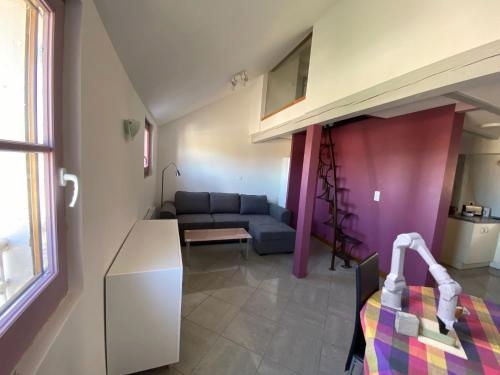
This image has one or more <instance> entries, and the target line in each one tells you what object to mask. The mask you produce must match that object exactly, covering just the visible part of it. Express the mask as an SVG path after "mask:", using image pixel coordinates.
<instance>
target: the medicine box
mask: <svg viewBox="0 0 500 375" xmlns="http://www.w3.org/2000/svg"><path fill="white" fill-rule="evenodd" d="M418 327H419V320H418V319H417V317H416V315H415V314H412V313H409V312H404V311H399V310H396V312H395V321H394V328H395V331H396V333H397V334H400V335H404V336H409V337H412V338H416V339H418V337H417V334H418Z"/></svg>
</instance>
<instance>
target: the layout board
mask: <svg viewBox="0 0 500 375" xmlns="http://www.w3.org/2000/svg"><path fill="white" fill-rule="evenodd" d="M419 317H420V321H421V326H423V328H426V329H429V330H432V331H435V332H438V333H440V332H439V324H438V321H437V322H436V321H434V320H432V319H431V320H430V319H427V318H424V317H422V316H419ZM446 336H449V337H455V338H456V339H457V340H456V346H455V347H453V346H451V345H448V344H445V343H442V342H440V341H437V340H434V339H431V338H429V337H426V336H423V335H419V334H417V340H418V342H420V343H422V344H425V345H427V346H430V347H431V348H432V347H433V348H434V349H435V348H436V349H438V350H440V351H443V352H446V353H448V354H451V355H453V356H456V357H459V358H461V359H464V360H468V357H467V354H466V352H465V350H464V348H463V346H462V343H461V341H460V339H459V337H458V335H457V333H456V331H455V328H453V329H452V331H451V330H449V332H448V334H447V335H446Z"/></svg>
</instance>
